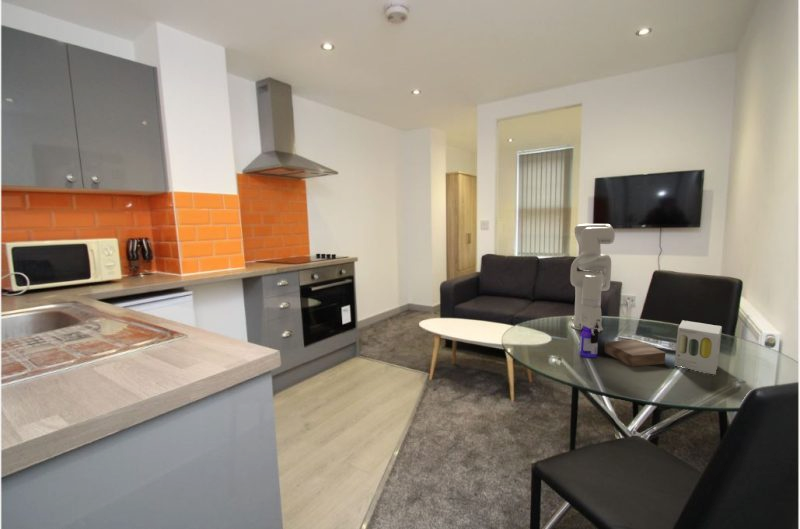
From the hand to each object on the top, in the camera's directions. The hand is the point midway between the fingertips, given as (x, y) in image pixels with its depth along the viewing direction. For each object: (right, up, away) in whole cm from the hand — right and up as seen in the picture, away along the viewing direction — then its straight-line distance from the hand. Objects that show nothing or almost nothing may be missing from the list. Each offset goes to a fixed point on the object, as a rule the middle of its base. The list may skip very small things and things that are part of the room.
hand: (589, 340), depth 160 cm
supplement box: (+39, -9, -12) cm, 41 cm away
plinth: (+19, -7, -2) cm, 20 cm away
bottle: (0, -8, +1) cm, 8 cm away
